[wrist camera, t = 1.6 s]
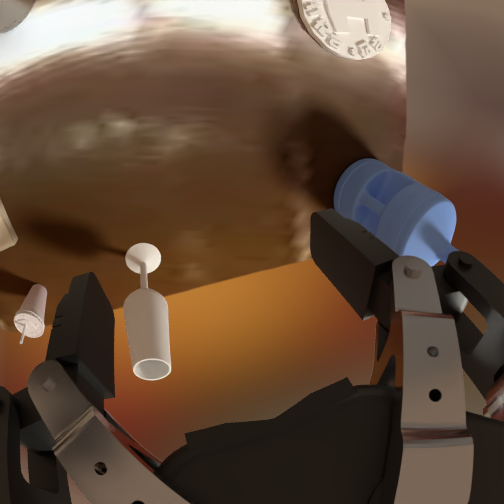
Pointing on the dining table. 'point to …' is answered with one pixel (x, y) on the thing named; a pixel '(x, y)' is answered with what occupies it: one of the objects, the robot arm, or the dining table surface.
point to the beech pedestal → (6, 230)
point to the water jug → (397, 210)
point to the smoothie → (32, 313)
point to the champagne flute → (147, 318)
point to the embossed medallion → (347, 25)
